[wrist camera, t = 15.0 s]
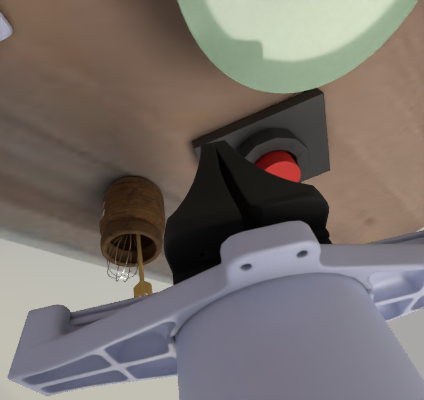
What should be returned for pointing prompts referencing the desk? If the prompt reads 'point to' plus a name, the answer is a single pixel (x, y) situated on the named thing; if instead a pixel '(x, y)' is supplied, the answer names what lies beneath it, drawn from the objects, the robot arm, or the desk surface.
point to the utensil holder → (132, 226)
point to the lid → (291, 38)
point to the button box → (281, 133)
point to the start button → (279, 165)
